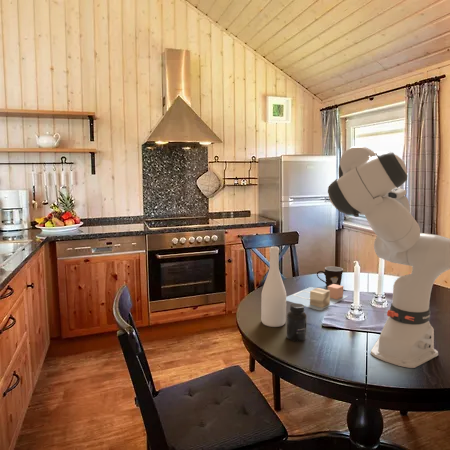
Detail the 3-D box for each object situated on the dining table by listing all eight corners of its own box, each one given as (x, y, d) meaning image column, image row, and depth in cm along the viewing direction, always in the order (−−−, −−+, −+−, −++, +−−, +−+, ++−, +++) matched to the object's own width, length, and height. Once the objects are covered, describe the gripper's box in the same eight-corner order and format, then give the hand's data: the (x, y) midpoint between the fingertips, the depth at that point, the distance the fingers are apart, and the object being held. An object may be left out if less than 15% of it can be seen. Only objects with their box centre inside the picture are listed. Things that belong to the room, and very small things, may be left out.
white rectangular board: (320, 313, 164) (320, 310, 164) (281, 301, 178) (281, 298, 178) (348, 298, 181) (348, 295, 181) (310, 289, 195) (310, 286, 195)
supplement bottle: (301, 343, 137) (302, 310, 135) (283, 339, 141) (284, 306, 139) (308, 336, 143) (309, 304, 141) (291, 332, 146) (291, 300, 145)
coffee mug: (344, 287, 197) (345, 267, 195) (339, 292, 190) (339, 272, 188) (321, 283, 203) (322, 264, 202) (315, 288, 196) (316, 268, 194)
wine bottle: (290, 322, 155) (292, 246, 150) (276, 330, 148) (277, 251, 144) (270, 316, 162) (271, 243, 157) (256, 323, 155) (256, 247, 150)
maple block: (322, 307, 167) (322, 294, 166) (309, 304, 171) (310, 290, 170) (329, 304, 171) (330, 290, 170) (317, 300, 175) (317, 287, 174)
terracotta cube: (337, 299, 177) (337, 288, 176) (327, 296, 180) (327, 286, 179) (342, 296, 180) (343, 286, 179) (332, 294, 184) (333, 283, 183)
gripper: (353, 194, 164) (356, 226, 167) (403, 194, 149) (405, 229, 152) (360, 190, 168) (363, 222, 171) (410, 190, 153) (412, 224, 156)
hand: (383, 225), depth 161 cm, fingers open, 8 cm apart
